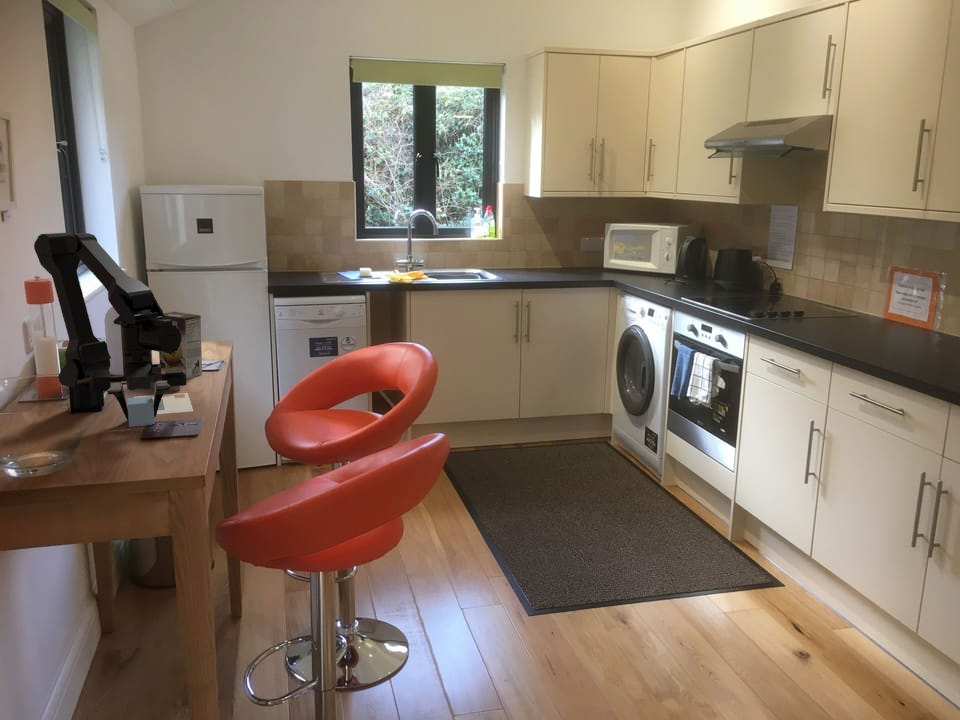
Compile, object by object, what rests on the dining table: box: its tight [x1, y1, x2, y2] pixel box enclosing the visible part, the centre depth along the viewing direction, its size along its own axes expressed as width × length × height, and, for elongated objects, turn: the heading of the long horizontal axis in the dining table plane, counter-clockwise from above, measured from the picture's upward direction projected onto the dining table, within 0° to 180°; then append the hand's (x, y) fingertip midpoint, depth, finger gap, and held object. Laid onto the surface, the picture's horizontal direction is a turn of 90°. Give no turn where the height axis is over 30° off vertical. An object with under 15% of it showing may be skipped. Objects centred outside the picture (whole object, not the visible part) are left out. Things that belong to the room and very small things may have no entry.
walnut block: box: [161, 367, 181, 393], centre depth 201 cm, size 5×5×5 cm
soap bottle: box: [104, 305, 137, 376], centre depth 214 cm, size 9×9×24 cm
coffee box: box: [158, 311, 203, 380], centre depth 213 cm, size 9×6×16 cm
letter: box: [133, 392, 194, 415], centre depth 189 cm, size 12×16×1 cm
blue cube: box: [126, 396, 155, 427], centre depth 175 cm, size 5×5×5 cm
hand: (141, 418), depth 175 cm, fingers closed on blue cube, 5 cm apart
